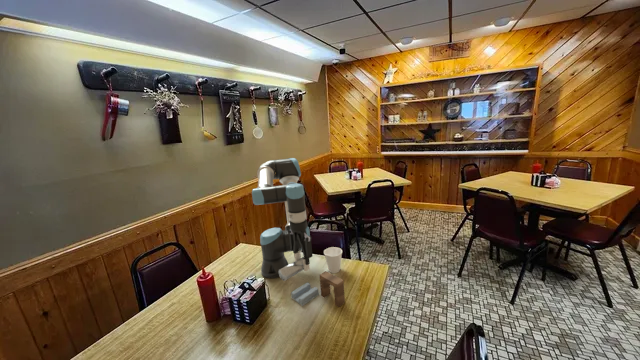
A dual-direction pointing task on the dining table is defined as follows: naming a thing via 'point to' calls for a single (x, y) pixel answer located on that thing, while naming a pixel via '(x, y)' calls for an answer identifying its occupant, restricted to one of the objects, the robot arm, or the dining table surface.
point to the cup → (333, 258)
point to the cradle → (304, 294)
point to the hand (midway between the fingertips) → (302, 267)
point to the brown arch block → (336, 282)
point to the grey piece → (291, 269)
